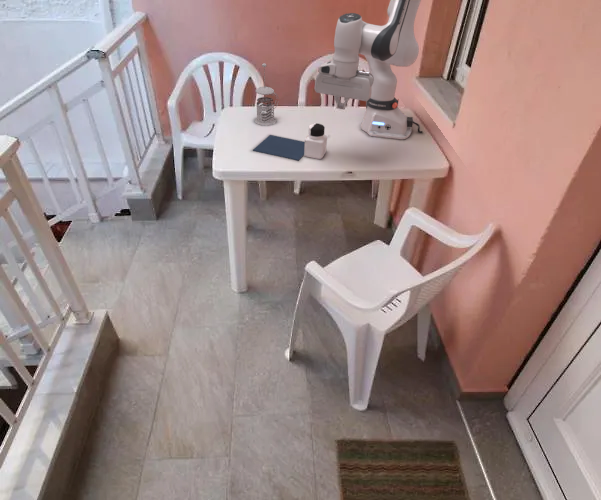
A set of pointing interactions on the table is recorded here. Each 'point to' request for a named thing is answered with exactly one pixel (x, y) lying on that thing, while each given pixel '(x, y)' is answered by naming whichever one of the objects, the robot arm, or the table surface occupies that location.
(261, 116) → the french press
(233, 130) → the table surface
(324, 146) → the medicine bottle
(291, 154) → the mat
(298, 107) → the table surface
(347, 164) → the table surface
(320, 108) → the table surface
